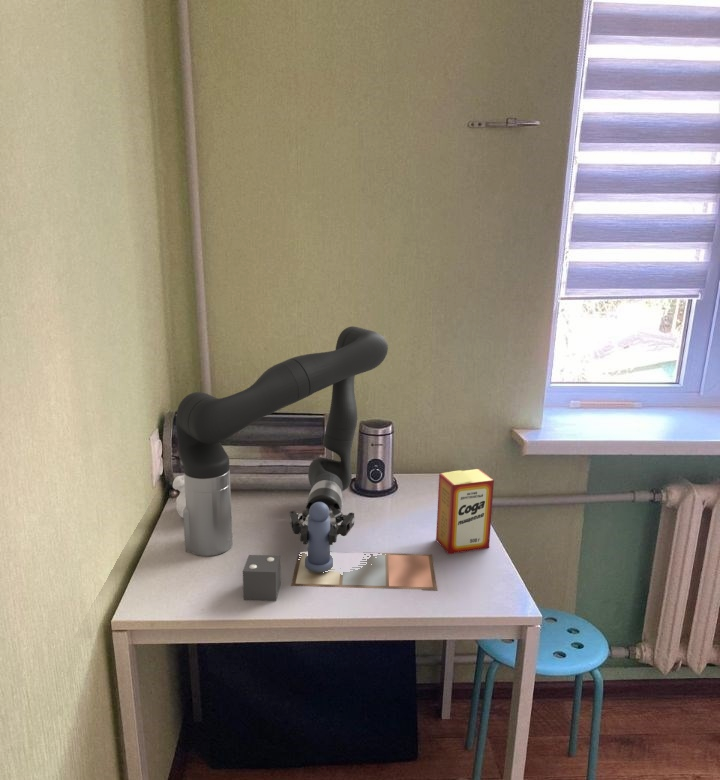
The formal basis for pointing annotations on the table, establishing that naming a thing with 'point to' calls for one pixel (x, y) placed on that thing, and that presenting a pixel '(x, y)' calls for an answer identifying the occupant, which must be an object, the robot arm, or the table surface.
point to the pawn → (318, 539)
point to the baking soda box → (464, 510)
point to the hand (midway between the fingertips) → (318, 540)
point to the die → (261, 577)
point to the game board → (374, 573)
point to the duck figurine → (181, 500)
